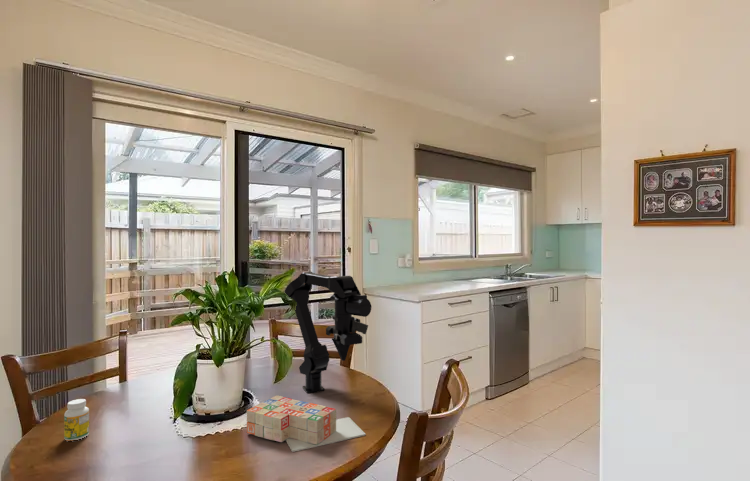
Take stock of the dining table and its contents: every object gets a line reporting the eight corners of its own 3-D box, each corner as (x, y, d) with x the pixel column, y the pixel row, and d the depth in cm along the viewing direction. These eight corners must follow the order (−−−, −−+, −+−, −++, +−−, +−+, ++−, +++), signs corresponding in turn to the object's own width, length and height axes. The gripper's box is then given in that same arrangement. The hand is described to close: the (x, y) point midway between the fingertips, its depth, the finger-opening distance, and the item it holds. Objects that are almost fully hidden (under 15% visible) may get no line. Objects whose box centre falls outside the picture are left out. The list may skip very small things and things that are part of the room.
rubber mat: (281, 432, 110) (281, 430, 110) (348, 418, 119) (348, 417, 119) (292, 452, 100) (292, 450, 100) (365, 435, 108) (365, 433, 108)
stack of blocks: (336, 407, 110) (310, 425, 99) (336, 430, 110) (310, 451, 99) (276, 395, 120) (245, 410, 109) (276, 416, 120) (245, 433, 109)
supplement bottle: (93, 434, 110) (94, 398, 110) (73, 443, 104) (74, 406, 105) (79, 431, 111) (79, 396, 111) (58, 440, 106) (59, 404, 106)
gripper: (377, 315, 129) (377, 364, 129) (354, 308, 146) (354, 351, 146) (344, 318, 125) (345, 369, 124) (325, 310, 141) (325, 354, 141)
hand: (343, 360), depth 134 cm, fingers closed
